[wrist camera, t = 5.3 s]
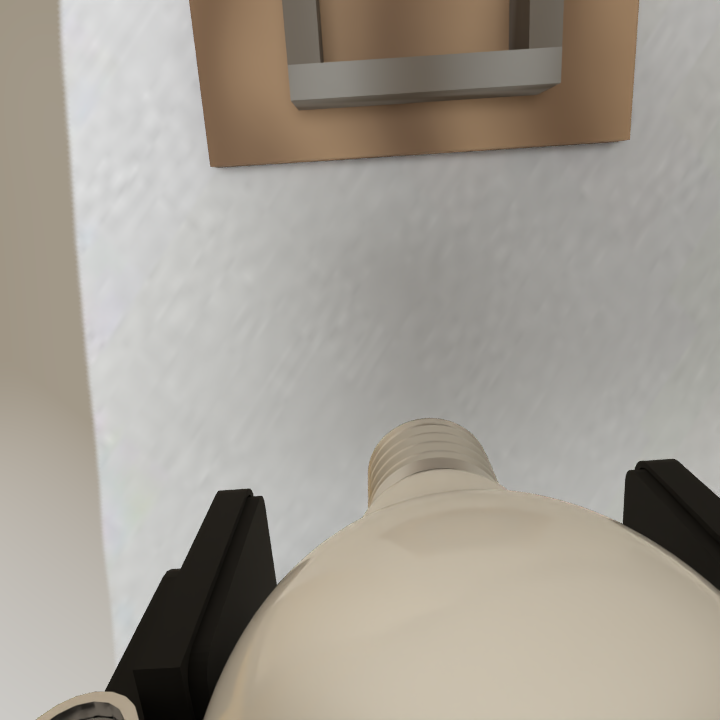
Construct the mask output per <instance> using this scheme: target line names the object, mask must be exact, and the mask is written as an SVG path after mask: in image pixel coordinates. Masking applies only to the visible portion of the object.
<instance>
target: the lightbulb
mask: <svg viewBox="0 0 720 720" xmlns="http://www.w3.org/2000/svg"><path fill="white" fill-rule="evenodd" d="M203 720H720V590H718V589H717V588H716V587H715V586H714V585H713V584H712V583H710V582H709V581H708V580H707V579H706V578H704V577H703V576H702V575H701V574H700V573H698V572H697V571H696V570H695V569H693V568H692V567H691V566H689V565H688V564H687V563H685V562H684V561H683V560H681V559H680V558H679V557H677V556H676V555H674V554H673V553H671V552H670V551H668V550H667V549H665V548H664V547H662V546H661V545H659V544H658V543H656V542H654V541H653V540H651V539H649V538H648V537H646V536H644V535H642V534H641V533H639V532H637V531H635V530H633V529H631V528H630V527H628V526H626V525H624V524H622V523H620V522H618V521H615V520H613V519H611V518H609V517H607V516H604V515H602V514H599V513H597V512H594V511H592V510H589V509H587V508H584V507H581V506H578V505H575V504H572V503H569V502H565V501H562V500H559V499H555V498H551V497H546V496H542V495H537V494H532V493H526V492H519V491H511V490H507V489H506V488H505V487H503V486H501V485H500V484H499V483H498V481H497V478H496V476H495V474H494V472H493V469H492V467H491V464H490V462H489V460H488V457H487V455H486V453H485V452H484V449H483V447H482V446H481V444H480V443H479V441H478V440H477V439H476V438H475V436H474V435H473V434H471V433H470V432H469V431H468V430H466V429H465V428H463V427H462V426H460V425H458V424H456V423H454V422H451V421H447V420H443V419H437V418H424V419H417V420H413V421H409V422H406V423H404V424H402V425H400V426H398V427H396V428H394V429H393V430H391V431H390V432H389V433H388V434H387V435H385V436H384V437H383V438H382V440H381V441H380V442H379V443H378V444H377V446H376V448H375V449H374V451H373V453H372V456H371V458H370V462H369V467H368V509H367V511H366V512H365V514H364V515H363V517H362V518H360V519H359V520H357V521H355V522H353V523H351V524H350V525H348V526H346V527H345V528H343V529H342V530H340V531H338V532H337V533H335V534H334V535H333V536H331V537H330V538H328V539H327V540H325V541H324V542H323V543H322V544H320V545H319V546H318V547H316V548H315V549H314V550H313V551H312V552H310V553H309V554H308V555H307V556H306V557H305V558H303V559H302V560H301V561H300V562H299V563H298V564H297V565H296V566H295V567H294V568H293V569H292V570H291V571H290V572H289V573H288V574H287V575H286V576H285V577H284V578H283V579H282V580H281V581H280V582H279V584H278V585H277V586H276V587H275V588H274V589H273V591H272V592H271V593H270V594H269V595H268V597H267V598H266V599H265V601H264V602H263V603H262V604H261V606H260V607H259V609H258V610H257V611H256V613H255V614H254V616H253V617H252V619H251V620H250V621H249V623H248V625H247V626H246V628H245V629H244V631H243V633H242V634H241V636H240V638H239V639H238V641H237V643H236V645H235V646H234V648H233V650H232V652H231V654H230V656H229V658H228V660H227V662H226V664H225V666H224V668H223V670H222V672H221V674H220V677H219V679H218V681H217V683H216V686H215V688H214V691H213V693H212V696H211V698H210V701H209V704H208V706H207V709H206V712H205V715H204V718H203Z"/></svg>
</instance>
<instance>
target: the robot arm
mask: <svg viewBox="0 0 720 720" xmlns="http://www.w3.org/2000/svg"><path fill="white" fill-rule="evenodd" d="M623 524H624V525H626V526H628V527H630V528H631V529H633V530H635V531H637V532H639V533H641V534H642V535H644V536H646V537H648V538H649V539H651V540H653V541H654V542H656V543H658V544H659V545H661V546H662V547H664V548H665V549H667V550H668V551H670V552H671V553H673V554H674V555H676V556H677V557H679V558H680V559H681V560H683V561H684V562H685V563H687V564H688V565H689V566H691V567H692V568H693V569H695V570H696V571H697V572H698V573H700V574H701V575H702V576H703V577H704V578H706V579H707V580H708V581H709V582H710V583H712V584H713V585H714V586H715V587H716V588H717V589H718V590H720V498H719V497H718V496H717V495H716V494H714V493H713V492H712V491H711V490H710V489H709V488H708V487H707V486H705V485H704V484H703V483H702V482H701V481H700V480H699V479H698V478H696V477H695V476H694V475H693V474H692V473H691V472H690V471H689V470H687V469H686V468H685V467H684V466H683V465H682V464H681V463H680V462H678V461H677V460H675V459H664V460H649V461H639V462H638V463H637V465H636V467H635V470H629V471H628V472H627V474H626V478H625V494H624V512H623ZM276 586H277V583H276V577H275V570H274V563H273V556H272V549H271V543H270V536H269V529H268V522H267V515H266V509H265V503H264V499H263V497H262V496H253V493H252V490H251V489H237V490H223V491H218V492H217V494H216V496H215V498H214V500H213V502H212V504H211V506H210V508H209V510H208V512H207V515H206V517H205V519H204V521H203V523H202V525H201V527H200V529H199V531H198V533H197V536H196V538H195V540H194V542H193V544H192V546H191V548H190V550H189V552H188V554H187V557H186V559H185V561H184V563H183V565H182V567H181V569H171V570H169V571H167V572H166V574H165V575H164V577H163V578H162V580H161V582H160V584H159V586H158V588H157V590H156V592H155V594H154V596H153V598H152V600H151V602H150V604H149V605H148V607H147V609H146V611H145V613H144V615H143V617H142V619H141V621H140V623H139V625H138V627H137V629H136V631H135V633H134V635H133V637H132V639H131V641H130V643H129V645H128V647H127V649H126V651H125V652H124V654H123V656H122V658H121V660H120V662H119V664H118V666H117V668H116V670H115V672H114V674H113V676H112V678H111V680H110V682H109V684H108V686H107V688H106V690H105V692H92V693H88V694H83V695H80V696H76V697H74V698H71V699H69V700H67V701H65V702H63V703H61V704H58V705H56V706H55V707H53V708H52V709H50V710H49V711H47V712H46V713H45V714H43V715H41V716H40V717H39V718H37V719H36V720H203V718H204V715H205V712H206V709H207V706H208V704H209V701H210V698H211V696H212V693H213V691H214V688H215V686H216V683H217V681H218V679H219V677H220V674H221V672H222V670H223V668H224V666H225V664H226V662H227V660H228V658H229V656H230V654H231V652H232V650H233V648H234V646H235V645H236V643H237V641H238V639H239V638H240V636H241V634H242V633H243V631H244V629H245V628H246V626H247V625H248V623H249V621H250V620H251V619H252V617H253V616H254V614H255V613H256V611H257V610H258V609H259V607H260V606H261V604H262V603H263V602H264V601H265V599H266V598H267V597H268V595H269V594H270V593H271V592H272V591H273V589H274V588H275V587H276Z"/></svg>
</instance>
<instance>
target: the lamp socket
mask: <svg viewBox="0 0 720 720" xmlns="http://www.w3.org/2000/svg"><path fill="white" fill-rule="evenodd" d="M189 4H190V11H191V19H192V27H193V35H194V43H195V50H196V58H197V66H198V74H199V82H200V89H201V97H202V105H203V113H204V121H205V128H206V136H207V144H208V152H209V160H210V167H218V168H220V167H235V166H251V165H266V164H282V163H297V162H313V161H328V160H344V159H359V158H375V157H391V156H406V155H422V154H437V153H453V152H468V151H484V150H499V149H515V148H530V147H546V146H561V145H577V144H592V143H608V142H618V141H624V140H630V128H631V113H632V98H633V83H634V69H635V54H636V39H637V24H638V10H639V0H189Z"/></svg>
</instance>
